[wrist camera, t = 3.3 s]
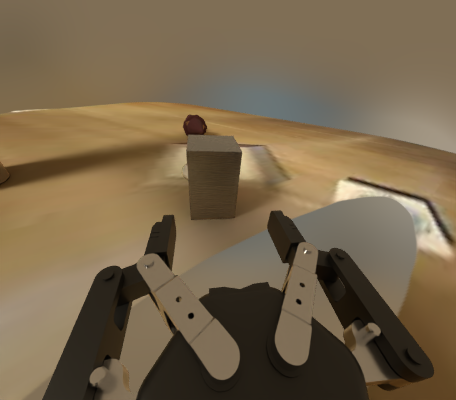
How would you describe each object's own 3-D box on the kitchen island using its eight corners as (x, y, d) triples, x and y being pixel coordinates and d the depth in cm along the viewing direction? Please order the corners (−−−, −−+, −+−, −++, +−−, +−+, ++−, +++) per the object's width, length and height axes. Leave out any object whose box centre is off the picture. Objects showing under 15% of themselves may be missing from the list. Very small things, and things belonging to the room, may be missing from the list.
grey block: (191, 219, 25) (186, 150, 19) (191, 195, 30) (188, 134, 24) (234, 217, 26) (242, 151, 20) (228, 194, 31) (232, 136, 25)
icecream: (217, 121, 49) (200, 115, 60) (192, 114, 45) (178, 109, 56) (212, 146, 52) (196, 136, 63) (187, 141, 48) (175, 131, 59)
